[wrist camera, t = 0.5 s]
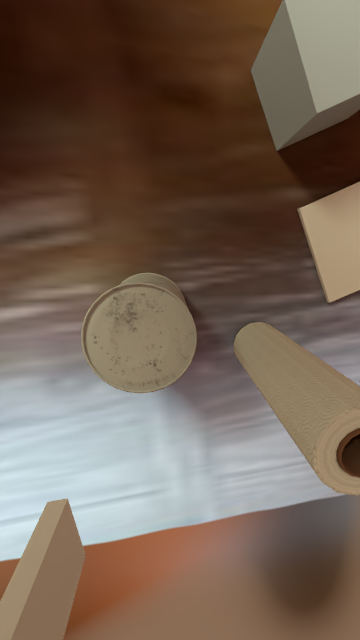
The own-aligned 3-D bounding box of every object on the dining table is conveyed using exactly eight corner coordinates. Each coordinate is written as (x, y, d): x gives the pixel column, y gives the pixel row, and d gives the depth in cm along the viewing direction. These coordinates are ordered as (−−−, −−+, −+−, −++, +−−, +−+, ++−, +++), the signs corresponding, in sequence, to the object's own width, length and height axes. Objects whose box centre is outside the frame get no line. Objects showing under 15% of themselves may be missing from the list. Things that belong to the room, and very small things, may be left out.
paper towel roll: (223, 342, 37) (294, 453, 17) (259, 311, 37) (381, 385, 16) (257, 380, 39) (364, 527, 18) (293, 351, 38) (447, 468, 17)
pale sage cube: (250, 70, 31) (284, -3, 22) (325, 35, 31) (389, -53, 22) (276, 151, 33) (317, 113, 24) (347, 118, 32) (414, 68, 24)
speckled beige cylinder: (195, 283, 36) (210, 297, 24) (176, 355, 38) (181, 403, 26) (117, 264, 35) (92, 269, 23) (102, 339, 37) (71, 380, 25)
